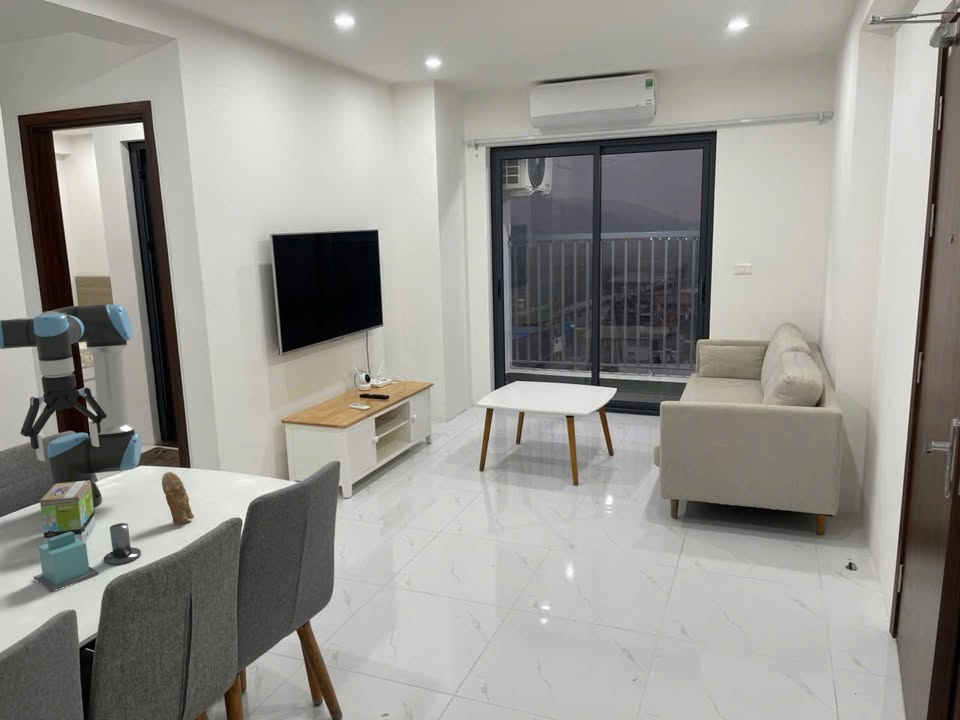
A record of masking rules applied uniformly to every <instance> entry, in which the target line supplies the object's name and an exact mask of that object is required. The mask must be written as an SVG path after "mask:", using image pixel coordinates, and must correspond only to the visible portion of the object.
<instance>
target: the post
mask: <svg viewBox="0 0 960 720" xmlns="http://www.w3.org/2000/svg"><path fill="white" fill-rule="evenodd" d="M109 533H110V542H111V548H112V551H110V552H108V553H107V554H106V555H105V556H104V557H103V562H104V564H105V565H107V566H120V565H121V564H122V565H126V564H129V563H133V562H134V561H136V560H137V559H139V558H140V557H141V555H142V552H141V549H140V548H138V547H132V546H131V539H130V538H131V537H130V531H129V524H128V523H126V522H121V523H116V524H112V525H111V526H110V527H109ZM122 565H121V566H122Z"/></svg>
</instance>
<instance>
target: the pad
mask: <svg viewBox="0 0 960 720" xmlns="http://www.w3.org/2000/svg"><path fill="white" fill-rule="evenodd" d="M89 571H90V572H89V573H86V574H83V575H81V576H78V577H75V578H73V579H70V580H67V581H65V582H62V583H60V584H57V585H56V584H54V583H53V582H51V581H50V580H48V579H47V578H45V577H44V576H43V575H42V573H40V574H37V575H34V576H33V580H34V579H35V580H37V581H38V582H39V583H38V582H37V581H36V582H37V583H38V584H40V583H41V584H42V585H41V584H40V585H41V586H43V585H44V586H45V587H44V586H43V587H44V588H46V587H47V588H48V589H47V588H46V589H47V590H49V589H50V590H51V591H50V590H49V591H50V592H52V591H54V590H56V589H59V588H62V587H64V588H66V587H65V586H67V585H69V586H71V585H70V584H72V585H74V584H73V583H75V584H76V582H77V583H79V582H81V581H82V580H83V581H85V580H88V579H90V578H93V577H95V576H98V575H99V571H98V570H96V569H94V568H93V567H91V566H89ZM35 580H34V581H35ZM67 587H68V586H67ZM62 589H63V588H62ZM59 590H60V589H59ZM56 591H57V590H56ZM54 592H55V591H54Z"/></svg>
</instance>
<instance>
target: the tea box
mask: <svg viewBox="0 0 960 720" xmlns="http://www.w3.org/2000/svg"><path fill="white" fill-rule="evenodd" d="M39 503H40V513H41V521H42V522H41V523H42V531H43V532H42V533H43V538H44V540H43V541H44V545H45V544H48V540H47V539H49V538H52V537H55V536H58V535H61V534H64V533H67V532H70V531H71V532H73V533H74V534H75V538H77V539H79V540H81V541H83V542H85V543H86V540H87V538H88V537H89V536H90V534H91V533H92V532H93V531H92V530H93V529H94V528H95V526H96V516H95V509H94V508H95V507H94V506H93V497H92V488H91V481H90V480H89V481H78V482H68V483H58V484H54V486H53V487H51V488H50V489H49V490H48V491H47V493H45V494H44V496H43V497H41V499H40V500H39Z"/></svg>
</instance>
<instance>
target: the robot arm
mask: <svg viewBox="0 0 960 720" xmlns="http://www.w3.org/2000/svg"><path fill="white" fill-rule="evenodd" d="M132 338H133V327H132V323H131V319H130V316H129V314H128V311H127V310H126V308H125V307H124V306H122V305H120V304H108V303H107V304H95V305H94V304H93V305H75V306H73V305H72V306H66V307H61V308H57V309H53V310H49V311H48V310H46V311H44V312H43V311H42V313H40V314H39V315H33V316H28V317H20V318H13V319H0V350H4V349H6V350H7V349H18V348H35V347H36V351H37V356H38V357H37V358H38V363H39V364H38V365H39V370H40V371H39V372H40V375H41V376H42V377H41V378H40V379H41V384H42V385H41V386H42V391H43V395H42V396H38V397H35V396H32V397H30V398H29V401H30V403H29V408H28V411H27V414H26V416H25V419H24V421H23V425H22V427H21V429H20V435H21V436H23V437H27V438H28V437H29V440H30V447H31V448H32V449H33V450H35V451H36V452H35V453H36V460H38V461H39V462H45V461H46V459H45V453H44V446H43V445H44V444H43V438H42V436H41V435H39V434H40V433H41V431H42V430H43V428H44V426H45V425H46V424H47V422H48V421H49V419H50V418H51V416H52V415H53V414H54V413H55V412H56V411H57V412H60V411H63V410H69V409H71V408H72V407H74V408H75V409H77V410H78V411H79V412H80V413H82V414H83V415H84V416H85V417H87V418H88V419H89V420H90V421H89V422H88V424H89V425H88V427H89V432H90V436H89V435H88V433H86V432H76V433H75V432H74V433H71V434H65V435H63V436H60V437H57V438H55V439H53V440H52V441H50V442H49V443H48V445H47V459H48V465H49V473H50V481H51V486H52V487H53V486H54V484H58V483H68V482H78V481H89V480H90V481H91V488H92V497H93V506H94V508H96V507H98V506H99V505H101V504H102V503H103V497H102V496H103V495H102V493H101V491H100V489H99V487H98V485H97V484H96V482H95V480H94V475H93V474H101V473H110V472H123V471H128V470H129V471H130V470H134V469H135V468H136V467H137V466H138V464H139V462H140V460H141V454H142V437H141V434H140V433H138V432H135V427H134V426H132V425H131V424H130V422H129V412H128V400H127V398H128V397H127V391H126V389H127V388H126V387H127V386H126V377H125V365H124V352H123V351H124V350H125V348H127V346H128V342H127V341H130V340H131V339H132ZM74 343H75V344H76V343H86V348H87V350H89V351H90V352H91V354H92V361H93V371H94V372H93V373H94V383H95V385H94V386H95V394H96V395H95V396H96V399H95V398H94V396H93V394H92V391H91V388H89V387H85V386H82V387H81V388H80V389H77V380H76V378H77V377H76V374H75V373H74V372H75V365H74V358H73V352H72V351H73V350H72V344H73V345H74ZM79 396H81V397H83V398H84V399H85V402H87V403H88V404H89V406H90V407H91V409H92V410H93V411H94V412H95V414H94V413H93V412H92V411H90V410H89V409H88V408H87V407H85V406H84V405H83V404H82V403H80V402H79V401H78V398H79ZM43 403H44V404H46V405H45V406H44V408H43V410H42V412H41V414H40V415H39V416H38V413H39V410H40V406H41V405H42V404H43ZM37 416H38V417H37ZM36 417H37V418H36ZM52 487H51V488H52Z"/></svg>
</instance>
